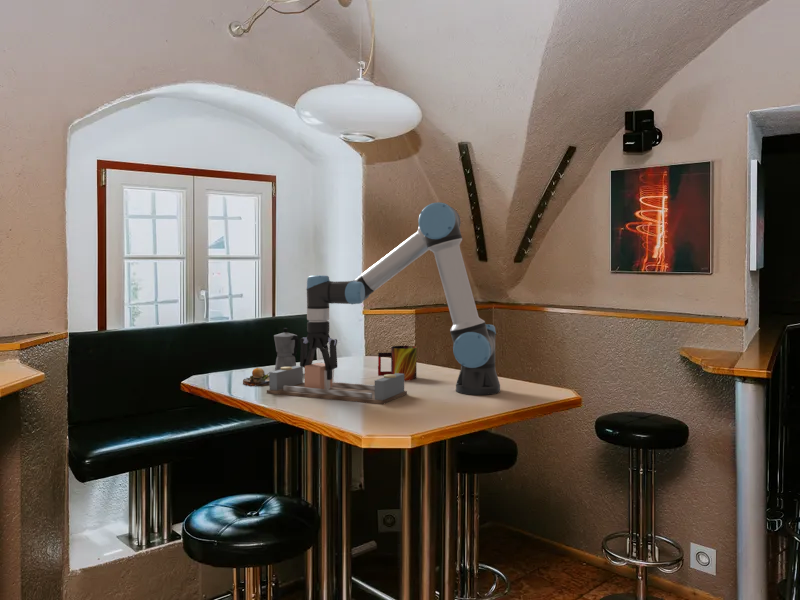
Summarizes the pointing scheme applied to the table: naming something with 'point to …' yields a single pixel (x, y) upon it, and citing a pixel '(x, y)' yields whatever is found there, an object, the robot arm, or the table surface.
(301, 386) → the rail track
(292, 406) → the table surface
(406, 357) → the mug
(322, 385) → the salmon pink box
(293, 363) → the coffeepot
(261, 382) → the burger
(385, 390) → the knobbed grey end panels
